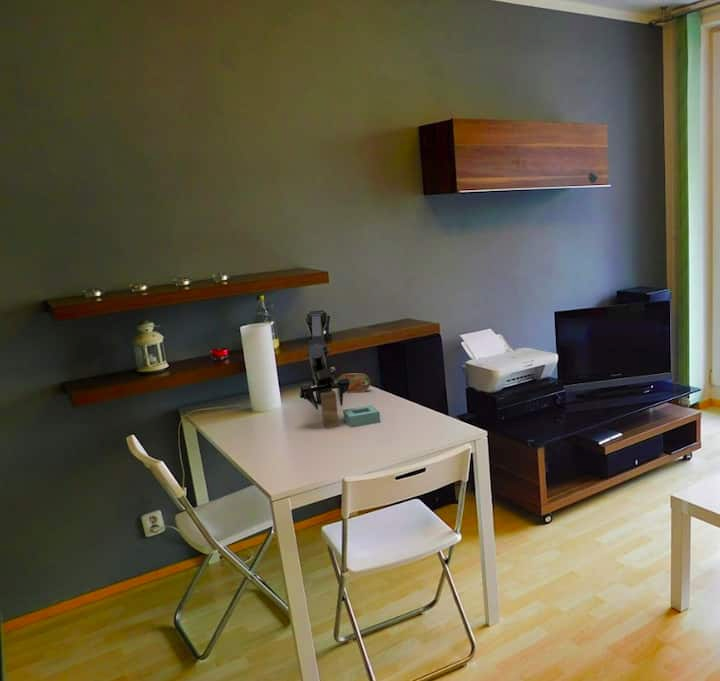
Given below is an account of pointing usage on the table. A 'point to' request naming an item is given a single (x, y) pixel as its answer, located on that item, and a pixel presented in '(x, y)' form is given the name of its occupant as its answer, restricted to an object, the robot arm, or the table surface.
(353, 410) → the rectangular frame
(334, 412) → the slat
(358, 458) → the table surface
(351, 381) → the tin
